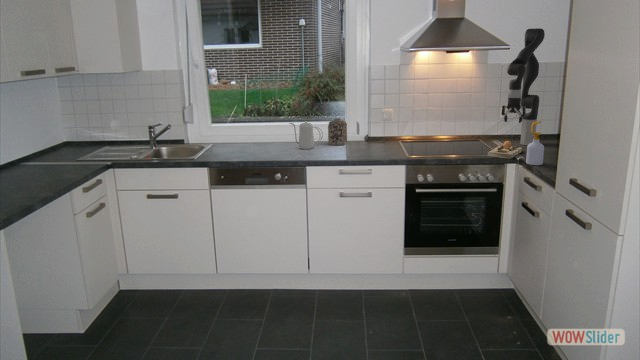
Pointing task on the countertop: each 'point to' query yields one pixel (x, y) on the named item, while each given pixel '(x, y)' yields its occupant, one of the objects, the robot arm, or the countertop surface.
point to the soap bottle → (535, 149)
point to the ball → (507, 144)
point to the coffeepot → (306, 135)
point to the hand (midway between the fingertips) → (512, 122)
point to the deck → (505, 152)
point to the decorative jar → (337, 132)
